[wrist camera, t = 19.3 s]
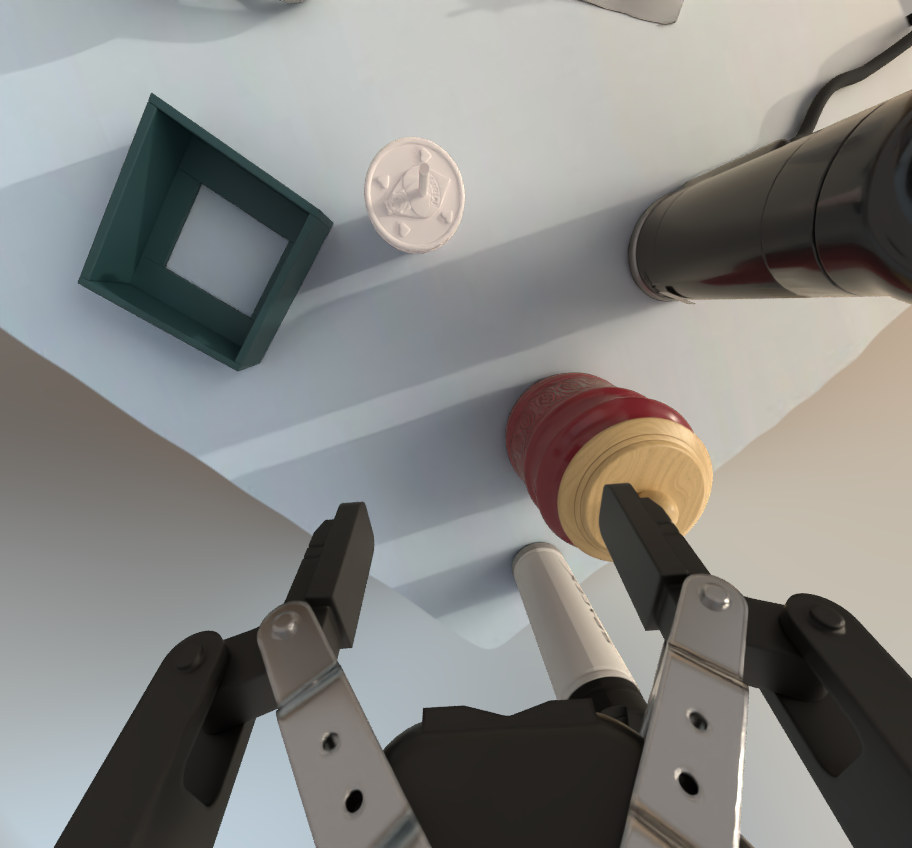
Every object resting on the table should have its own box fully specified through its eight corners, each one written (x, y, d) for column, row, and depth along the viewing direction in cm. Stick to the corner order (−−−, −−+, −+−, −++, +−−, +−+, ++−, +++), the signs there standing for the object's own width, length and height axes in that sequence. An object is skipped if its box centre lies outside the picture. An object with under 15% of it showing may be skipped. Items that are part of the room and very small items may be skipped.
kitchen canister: (576, 503, 43) (679, 631, 26) (479, 455, 40) (524, 564, 23) (645, 406, 40) (809, 479, 23) (546, 346, 37) (653, 380, 20)
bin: (190, 123, 29) (150, 91, 25) (333, 223, 32) (320, 210, 28) (122, 286, 32) (76, 283, 28) (259, 363, 35) (237, 371, 31)
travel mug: (516, 592, 46) (586, 797, 27) (507, 548, 44) (575, 736, 25) (565, 580, 46) (669, 774, 27) (559, 535, 44) (666, 712, 25)
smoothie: (463, 248, 33) (493, 212, 20) (398, 277, 34) (385, 261, 20) (434, 171, 31) (446, 74, 18) (365, 202, 32) (327, 129, 18)
